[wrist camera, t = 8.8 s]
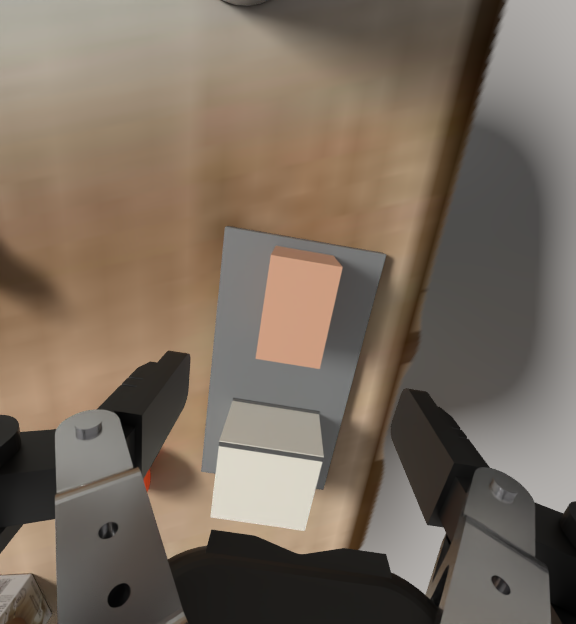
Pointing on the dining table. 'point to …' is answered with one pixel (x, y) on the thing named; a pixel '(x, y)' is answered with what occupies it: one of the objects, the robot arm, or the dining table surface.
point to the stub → (298, 306)
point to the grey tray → (278, 386)
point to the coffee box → (22, 601)
